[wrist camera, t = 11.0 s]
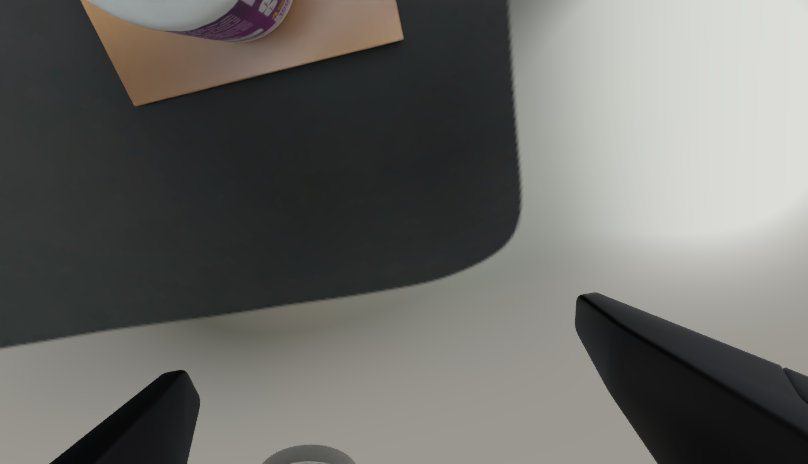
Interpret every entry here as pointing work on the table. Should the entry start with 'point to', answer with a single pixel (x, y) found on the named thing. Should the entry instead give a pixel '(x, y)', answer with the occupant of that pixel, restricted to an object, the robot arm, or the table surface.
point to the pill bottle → (202, 16)
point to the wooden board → (240, 47)
